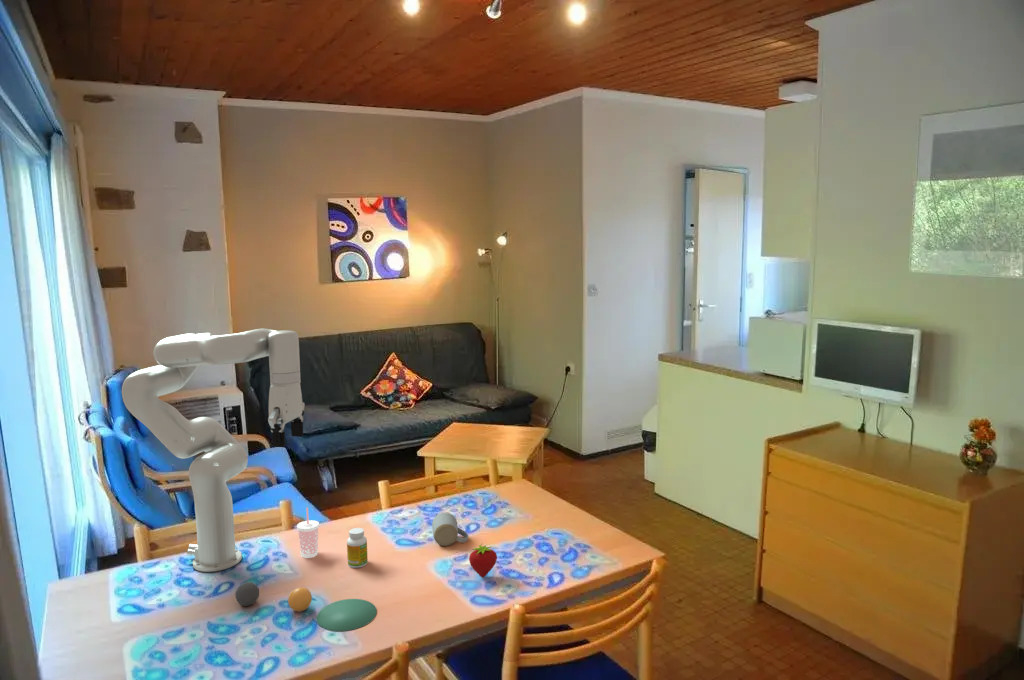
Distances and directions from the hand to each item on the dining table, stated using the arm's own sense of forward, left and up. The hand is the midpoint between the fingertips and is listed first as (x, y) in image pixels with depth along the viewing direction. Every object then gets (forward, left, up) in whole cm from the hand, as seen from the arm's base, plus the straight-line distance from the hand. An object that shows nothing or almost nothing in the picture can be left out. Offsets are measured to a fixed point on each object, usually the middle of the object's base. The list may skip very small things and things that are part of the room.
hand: (288, 441), depth 180 cm
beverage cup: (-1, +10, -36) cm, 38 cm away
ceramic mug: (+36, +26, -37) cm, 58 cm away
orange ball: (+11, -18, -34) cm, 40 cm away
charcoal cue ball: (-3, -18, -34) cm, 38 cm away
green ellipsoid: (+23, -18, -36) cm, 47 cm away
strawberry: (+51, +6, -36) cm, 63 cm away
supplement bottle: (+15, +7, -36) cm, 40 cm away
